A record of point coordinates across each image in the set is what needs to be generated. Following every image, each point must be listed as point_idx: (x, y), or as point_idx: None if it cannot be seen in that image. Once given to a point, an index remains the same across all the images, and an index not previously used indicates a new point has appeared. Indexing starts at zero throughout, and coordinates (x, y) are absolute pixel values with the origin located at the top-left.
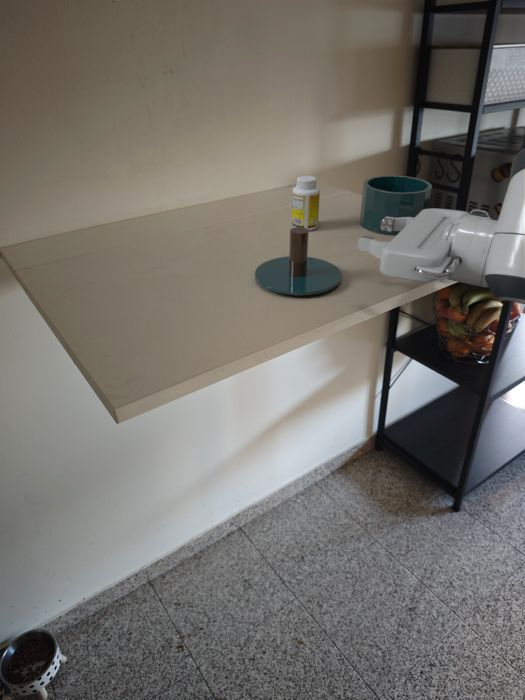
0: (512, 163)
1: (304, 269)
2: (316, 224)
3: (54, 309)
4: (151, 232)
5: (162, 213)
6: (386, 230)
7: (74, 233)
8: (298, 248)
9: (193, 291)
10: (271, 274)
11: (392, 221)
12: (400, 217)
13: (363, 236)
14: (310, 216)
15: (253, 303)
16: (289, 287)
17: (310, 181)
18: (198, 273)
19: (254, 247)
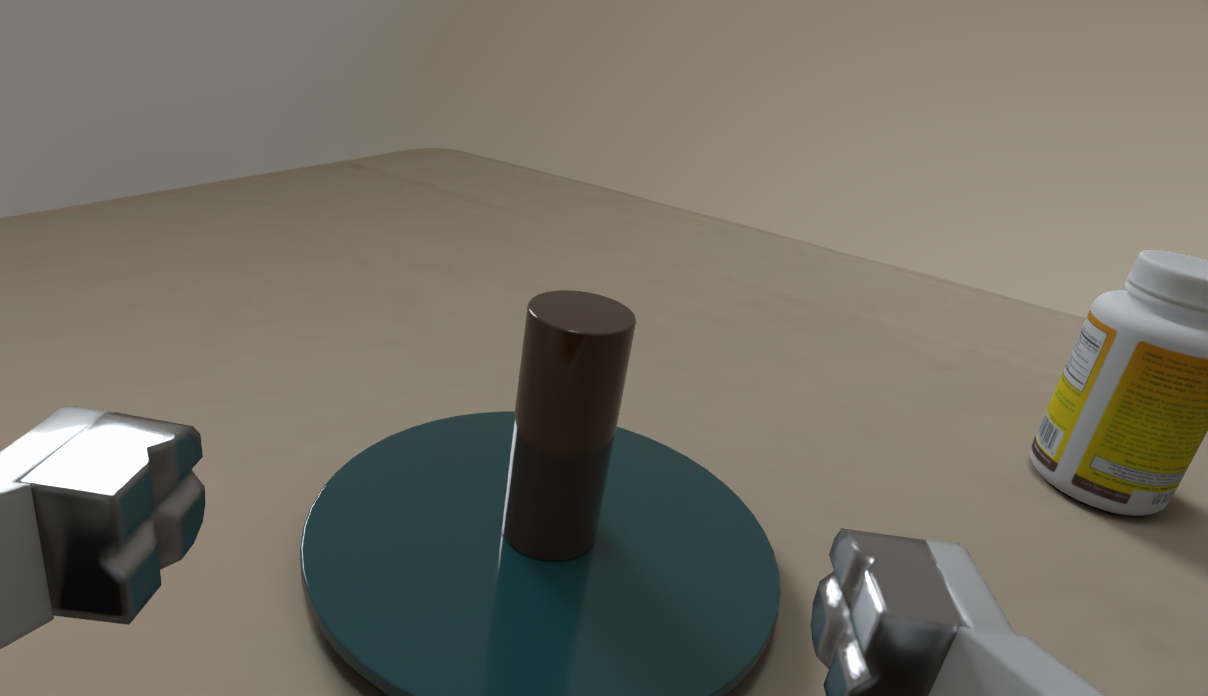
0: None
1: (534, 526)
2: (1134, 498)
3: (144, 202)
4: (663, 241)
5: (792, 240)
6: (832, 675)
7: (566, 180)
8: (520, 392)
9: (303, 337)
10: (483, 455)
11: (877, 620)
12: (1081, 679)
13: (157, 422)
14: (1106, 439)
15: (223, 471)
16: (360, 530)
17: (1187, 278)
18: (449, 328)
19: (751, 395)
